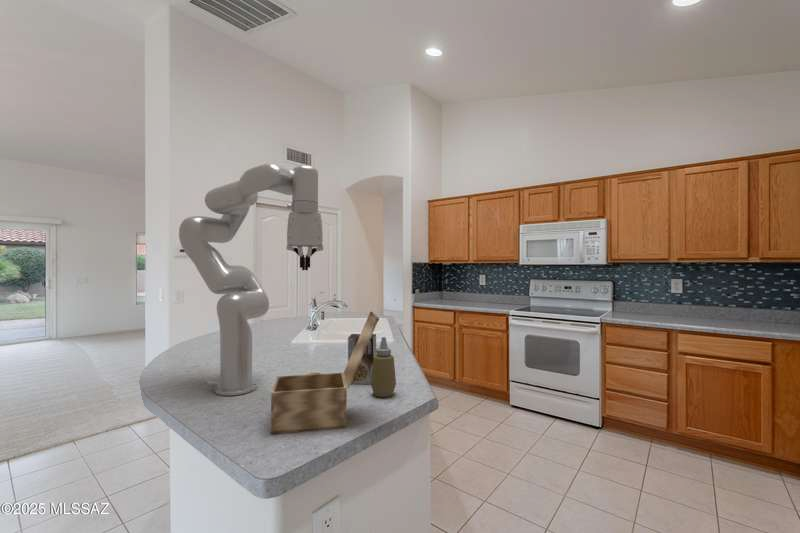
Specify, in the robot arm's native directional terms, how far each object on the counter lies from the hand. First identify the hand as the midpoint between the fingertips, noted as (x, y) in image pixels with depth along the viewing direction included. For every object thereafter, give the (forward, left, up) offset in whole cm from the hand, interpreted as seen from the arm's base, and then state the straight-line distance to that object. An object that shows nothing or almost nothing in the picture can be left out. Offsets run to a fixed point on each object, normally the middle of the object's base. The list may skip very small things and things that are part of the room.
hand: (305, 270), depth 110 cm
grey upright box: (+19, +14, -39) cm, 46 cm away
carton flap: (+15, -15, -20) cm, 29 cm away
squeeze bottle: (+24, 0, -39) cm, 46 cm away
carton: (+2, -15, -39) cm, 42 cm away
